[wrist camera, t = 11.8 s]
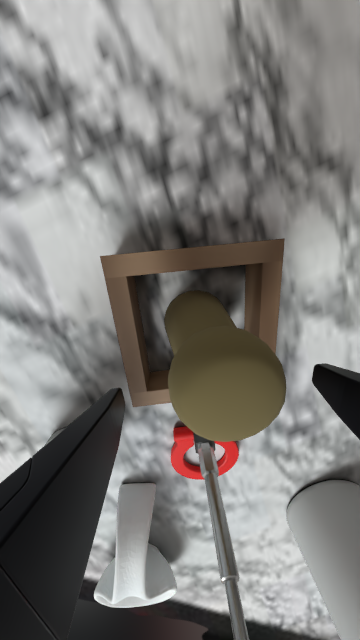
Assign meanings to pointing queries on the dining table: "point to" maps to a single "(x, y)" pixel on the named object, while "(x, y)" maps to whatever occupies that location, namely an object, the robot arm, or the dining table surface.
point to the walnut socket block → (122, 268)
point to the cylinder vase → (331, 547)
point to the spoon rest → (135, 555)
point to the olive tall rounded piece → (220, 371)
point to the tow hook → (214, 510)
